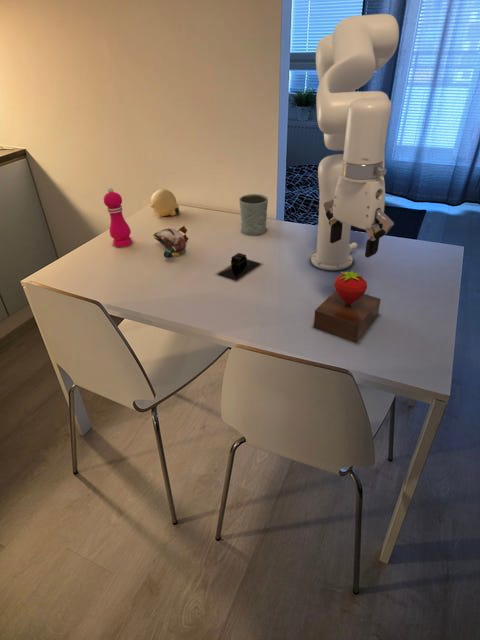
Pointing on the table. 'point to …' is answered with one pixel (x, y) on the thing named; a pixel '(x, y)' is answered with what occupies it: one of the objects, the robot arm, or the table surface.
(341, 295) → the strawberry
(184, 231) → the decorative duck model
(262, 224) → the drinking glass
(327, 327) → the walnut block
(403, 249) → the table surface
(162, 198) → the beige rounded lump
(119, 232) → the pepper mill
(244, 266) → the build plate
